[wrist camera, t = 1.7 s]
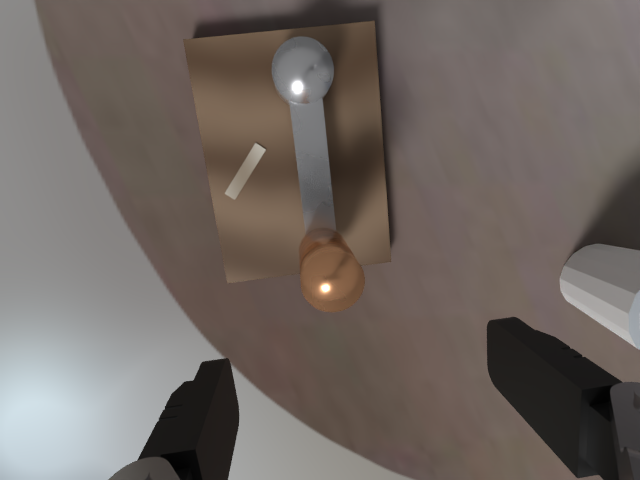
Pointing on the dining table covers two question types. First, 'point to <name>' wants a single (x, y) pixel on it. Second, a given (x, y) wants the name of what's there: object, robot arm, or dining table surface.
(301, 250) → the lever
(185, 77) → the dining table surface
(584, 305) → the white cup
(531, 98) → the dining table surface
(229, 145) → the lever board
